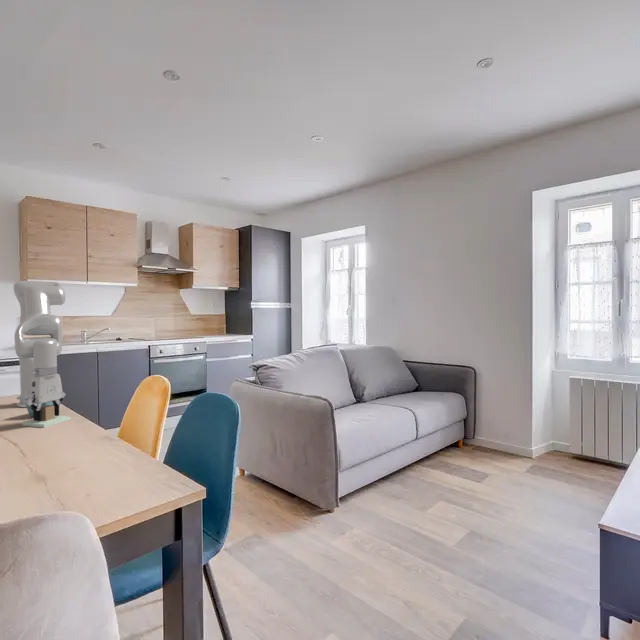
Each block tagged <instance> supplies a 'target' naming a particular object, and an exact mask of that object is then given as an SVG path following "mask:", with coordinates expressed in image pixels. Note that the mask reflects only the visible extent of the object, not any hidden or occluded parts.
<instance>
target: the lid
mask: <svg viewBox="0 0 640 640" xmlns="http://www.w3.org/2000/svg"><path fill="white" fill-rule="evenodd" d="M40 410H41V414H42V420H41V421H34V418H33V419H29V420H26V421H22V422H21V425H23V426H24V427H32V426H33V427H32V428H42V427H43V428H44V429H45V428H48V427H51V425H52V426H55V425H58V424H62V423H65V422H67V421H71V419H72V418H71V416H67V415H59V416H55V412H54V406H51V405H46V406H42V407H40ZM61 422H62V423H61ZM23 426H22V427H23ZM43 428H42V429H43Z"/></svg>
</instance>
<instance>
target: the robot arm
mask: <svg viewBox="0 0 640 640" xmlns="http://www.w3.org/2000/svg"><path fill="white" fill-rule="evenodd" d="M13 293H14V296H15V298H16V299H17V301H18V303H19V306H20V307H19V308H20V322H19V324H18V326H17V327H16V329H15V332H14V336H13V337H14V351H15V354H16V356H17V357H18V361H19V379H20V380H19V381H20V384H19V385H20V387H19V388H20V394H19V396H17V397H16V400H18V401H19V402H17V403H16V407H18V408H27V406H28V407H29V408H31V410H33V419H34V421H41V420H42V414H41V410H40V407H41V405H42V403H46V402H50V401H51V402H52V404H53V405H52V406H54V412H55V416H60V406H61V404H62V402H63V400H64V398H65V396H67V395H66V392H64V390H63V386H62V379H61V375H60V373H58V356H59V355H60V354H61V353H62V348H63V324H62V323H63V322H62V319H61V317H60V316H58V315H56V314H51V313H52V312H51V306H62V305H64V304H65V302H66V293H65V290H64V288H63V286H62V285H61V284H60V283H59V282H57V281H41V280H21V281H17V282H15V283H14V284H13ZM24 335H25V336H33V337H24ZM34 336H36V337H34ZM38 336H39V337H38ZM27 397H29V398H28V399H27V400H26V401H25V398H27ZM32 402H33V403H32ZM37 404H38V405H37ZM26 405H27V406H26Z"/></svg>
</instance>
